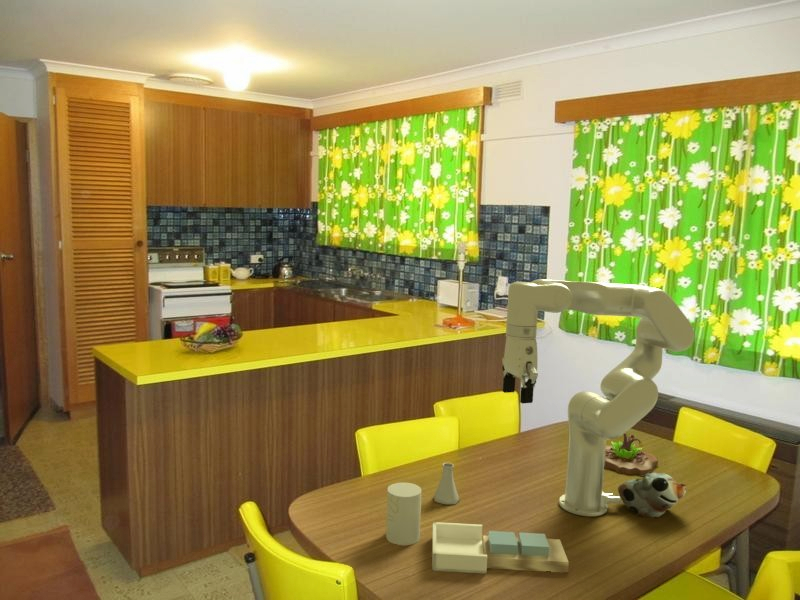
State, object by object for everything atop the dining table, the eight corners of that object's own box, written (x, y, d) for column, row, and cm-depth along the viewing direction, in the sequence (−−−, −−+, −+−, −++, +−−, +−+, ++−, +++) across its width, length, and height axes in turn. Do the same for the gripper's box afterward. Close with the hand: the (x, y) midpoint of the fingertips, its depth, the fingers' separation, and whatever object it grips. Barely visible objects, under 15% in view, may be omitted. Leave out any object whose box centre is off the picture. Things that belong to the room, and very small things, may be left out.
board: (559, 549, 152) (559, 539, 152) (567, 572, 142) (568, 562, 142) (482, 545, 153) (483, 535, 153) (485, 568, 143) (486, 557, 143)
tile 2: (544, 542, 150) (544, 533, 150) (548, 556, 144) (549, 547, 144) (518, 541, 150) (518, 532, 150) (521, 554, 144) (522, 545, 144)
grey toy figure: (656, 496, 183) (683, 462, 177) (672, 531, 173) (702, 496, 166) (610, 483, 180) (636, 449, 174) (623, 518, 170) (652, 482, 163)
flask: (458, 507, 173) (459, 471, 172) (431, 503, 174) (432, 468, 173) (461, 495, 180) (462, 461, 179) (435, 492, 181) (436, 458, 180)
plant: (603, 447, 223) (606, 416, 221) (662, 461, 211) (665, 428, 210) (582, 464, 207) (585, 430, 205) (645, 480, 195) (648, 445, 194)
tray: (481, 540, 155) (482, 524, 155) (486, 573, 141) (487, 556, 140) (432, 537, 156) (432, 522, 155) (432, 570, 141) (433, 553, 141)
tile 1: (513, 541, 150) (514, 532, 150) (517, 554, 144) (517, 545, 144) (488, 539, 151) (488, 530, 150) (490, 553, 145) (490, 543, 144)
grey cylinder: (385, 528, 159) (386, 482, 158) (417, 528, 160) (419, 482, 159) (387, 545, 151) (388, 497, 150) (421, 545, 152) (423, 496, 151)
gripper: (552, 337, 155) (547, 406, 158) (518, 325, 172) (515, 387, 174) (523, 338, 153) (519, 408, 155) (492, 325, 170) (489, 389, 172)
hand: (517, 397), depth 165 cm, fingers open, 9 cm apart
